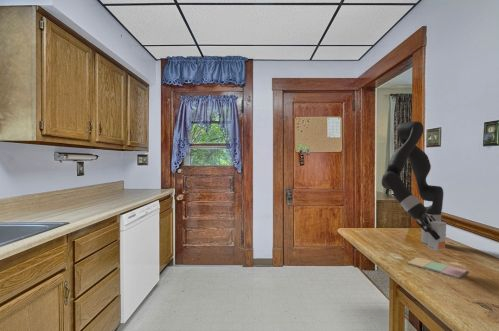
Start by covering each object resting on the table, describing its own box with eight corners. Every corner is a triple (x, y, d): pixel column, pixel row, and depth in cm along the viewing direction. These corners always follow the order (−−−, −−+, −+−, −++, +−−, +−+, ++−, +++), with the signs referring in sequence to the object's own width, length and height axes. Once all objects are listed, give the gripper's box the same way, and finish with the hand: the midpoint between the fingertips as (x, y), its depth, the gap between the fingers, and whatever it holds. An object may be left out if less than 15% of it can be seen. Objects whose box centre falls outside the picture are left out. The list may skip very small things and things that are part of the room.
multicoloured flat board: (417, 258, 137) (417, 256, 137) (467, 271, 122) (467, 270, 122) (406, 263, 130) (406, 262, 130) (459, 278, 114) (459, 277, 114)
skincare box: (437, 251, 122) (438, 223, 122) (427, 248, 126) (428, 221, 126) (445, 249, 125) (446, 222, 125) (435, 246, 129) (436, 220, 129)
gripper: (413, 203, 126) (443, 235, 118) (426, 201, 136) (454, 230, 127) (400, 213, 131) (428, 245, 122) (413, 210, 140) (439, 239, 131)
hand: (441, 237), depth 124 cm, fingers closed on skincare box, 6 cm apart
